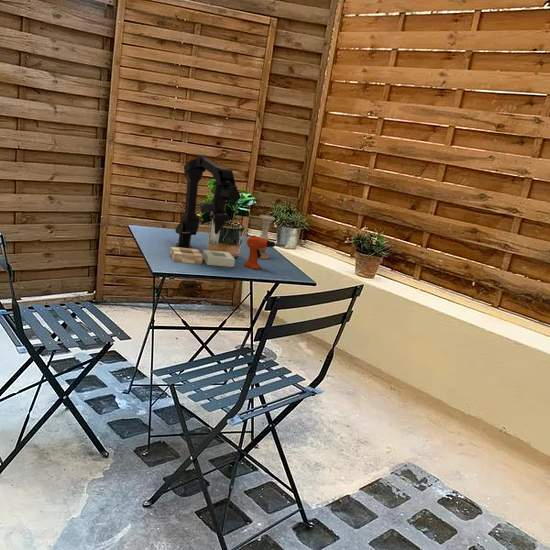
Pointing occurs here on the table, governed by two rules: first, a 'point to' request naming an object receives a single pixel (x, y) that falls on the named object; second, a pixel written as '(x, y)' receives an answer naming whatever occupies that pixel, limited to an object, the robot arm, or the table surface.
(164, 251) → the table surface
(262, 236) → the candle holder
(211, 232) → the silver flared cylinder
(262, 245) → the toy drill
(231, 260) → the square block with hole
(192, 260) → the socket block
